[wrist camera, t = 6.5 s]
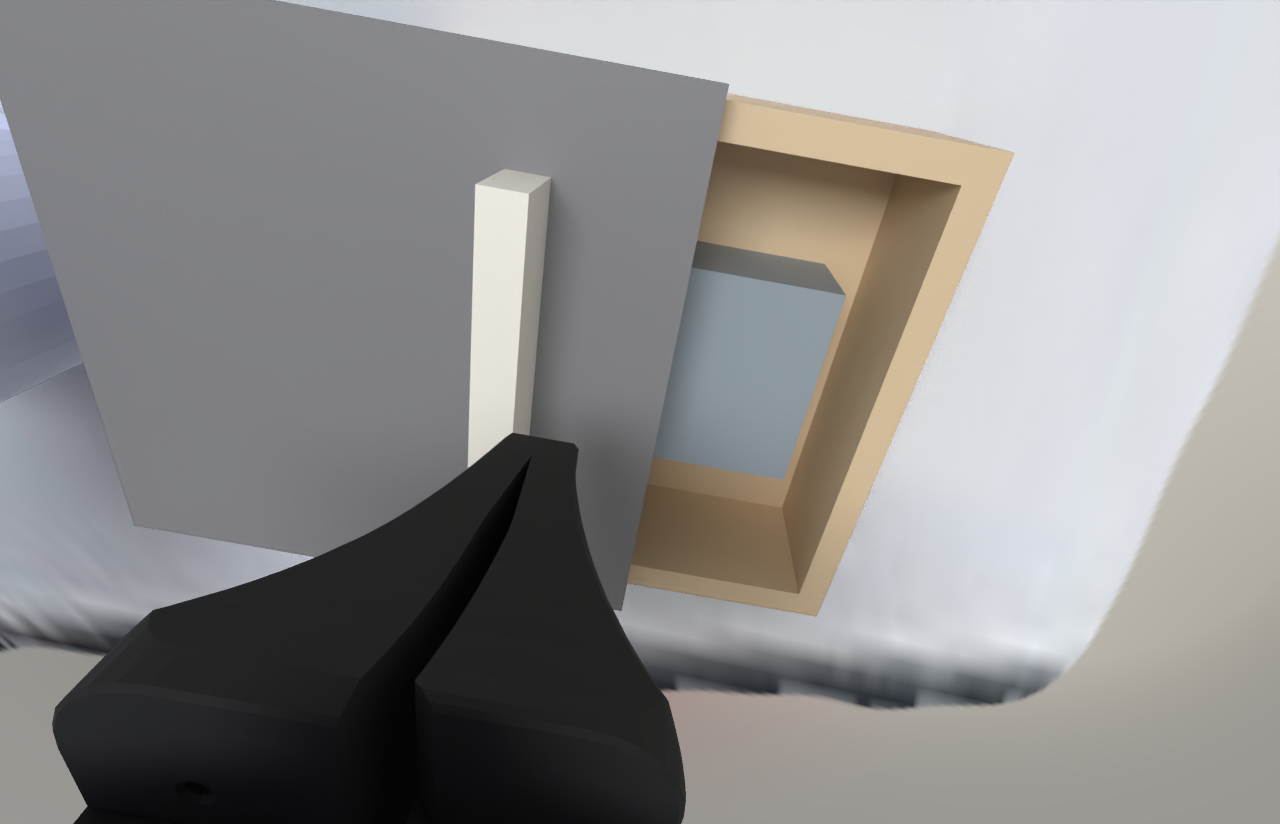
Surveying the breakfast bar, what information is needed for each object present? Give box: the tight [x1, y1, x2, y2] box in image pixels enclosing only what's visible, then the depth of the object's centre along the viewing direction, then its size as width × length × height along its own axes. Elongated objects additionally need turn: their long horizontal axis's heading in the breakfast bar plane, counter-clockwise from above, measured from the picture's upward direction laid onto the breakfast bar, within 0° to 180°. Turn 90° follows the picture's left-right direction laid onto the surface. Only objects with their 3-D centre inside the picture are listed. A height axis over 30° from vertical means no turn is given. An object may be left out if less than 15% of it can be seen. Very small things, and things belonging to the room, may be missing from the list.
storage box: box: [627, 94, 1014, 616], centre depth 19 cm, size 14×14×5 cm
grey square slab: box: [0, 0, 729, 611], centre depth 16 cm, size 15×15×4 cm
